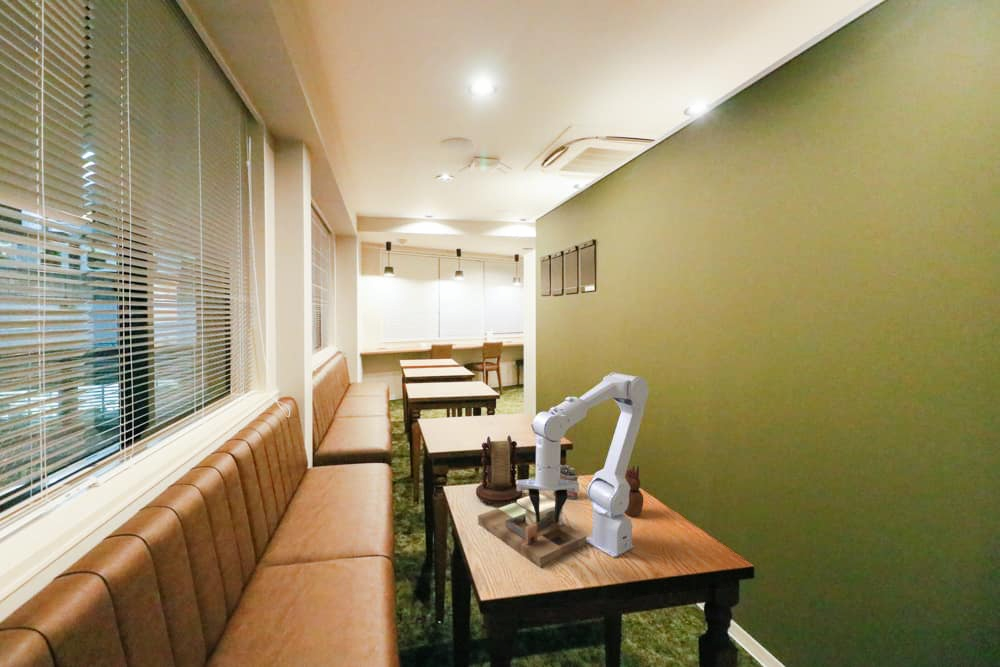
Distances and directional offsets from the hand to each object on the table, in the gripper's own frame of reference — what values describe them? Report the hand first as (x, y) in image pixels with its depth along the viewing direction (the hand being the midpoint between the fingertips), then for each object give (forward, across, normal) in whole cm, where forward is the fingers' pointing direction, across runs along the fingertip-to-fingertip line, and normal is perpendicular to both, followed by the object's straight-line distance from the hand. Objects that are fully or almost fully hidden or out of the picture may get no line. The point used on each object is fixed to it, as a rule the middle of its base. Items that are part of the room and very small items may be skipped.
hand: (547, 520), depth 100 cm
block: (+8, +2, -14) cm, 16 cm away
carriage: (+8, +3, -10) cm, 13 cm away
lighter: (+11, -9, -37) cm, 40 cm away
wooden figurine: (+11, -27, -26) cm, 39 cm away
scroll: (+11, +12, -35) cm, 39 cm away
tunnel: (+10, +4, -13) cm, 17 cm away
